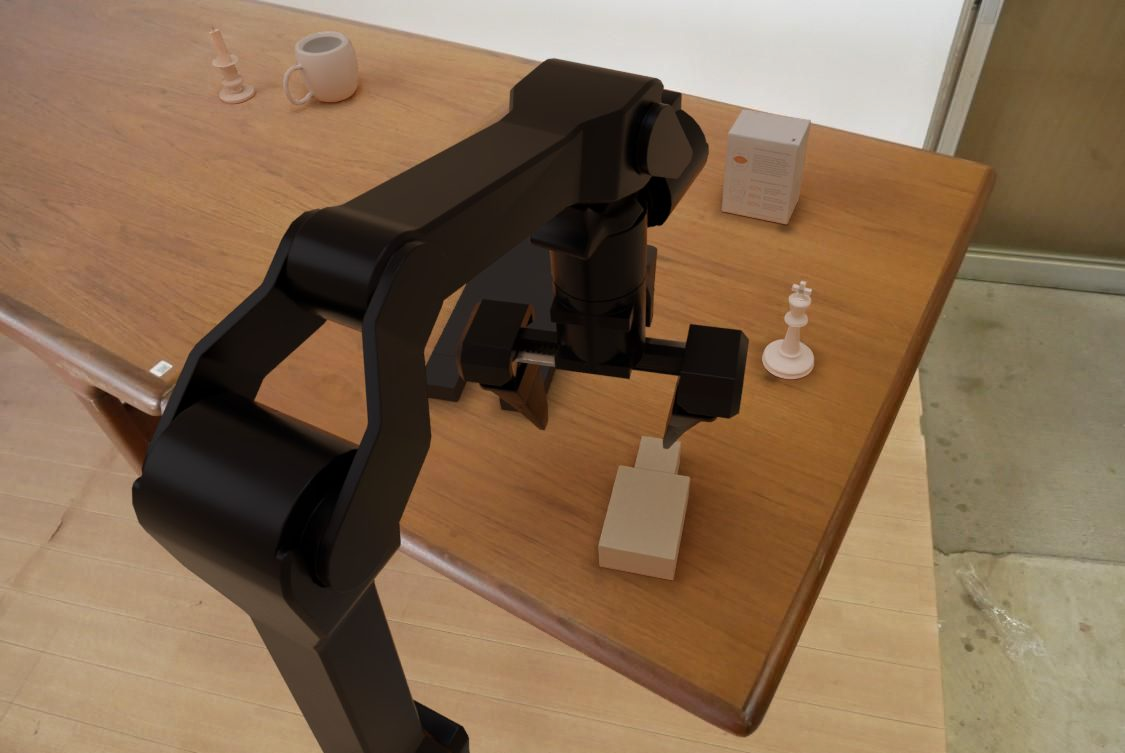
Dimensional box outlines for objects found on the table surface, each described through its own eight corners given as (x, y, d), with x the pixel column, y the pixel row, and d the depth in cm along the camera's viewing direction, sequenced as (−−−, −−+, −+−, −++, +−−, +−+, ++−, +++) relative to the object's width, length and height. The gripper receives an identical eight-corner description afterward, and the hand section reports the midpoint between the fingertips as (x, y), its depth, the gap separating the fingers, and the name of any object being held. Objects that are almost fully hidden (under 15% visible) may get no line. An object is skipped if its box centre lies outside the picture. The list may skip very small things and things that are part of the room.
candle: (213, 97, 125) (186, 29, 118) (242, 83, 128) (217, 15, 120) (233, 107, 123) (207, 38, 115) (262, 92, 125) (238, 23, 118)
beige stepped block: (673, 581, 66) (674, 560, 64) (599, 566, 68) (598, 545, 65) (694, 466, 74) (696, 443, 72) (627, 455, 75) (627, 432, 73)
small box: (799, 199, 100) (813, 119, 92) (787, 226, 96) (801, 145, 89) (733, 186, 102) (742, 107, 94) (719, 212, 99) (727, 132, 91)
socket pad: (539, 415, 79) (537, 401, 78) (420, 396, 82) (416, 382, 80) (603, 234, 97) (603, 220, 96) (504, 223, 100) (502, 209, 98)
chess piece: (772, 337, 84) (786, 259, 77) (820, 353, 82) (839, 274, 75) (754, 369, 81) (766, 291, 74) (803, 386, 80) (821, 307, 72)
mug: (341, 73, 128) (327, 23, 122) (376, 90, 124) (363, 38, 118) (275, 106, 122) (257, 54, 117) (309, 125, 118) (293, 72, 112)
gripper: (767, 206, 54) (743, 372, 65) (489, 180, 58) (513, 342, 69) (752, 324, 47) (728, 488, 58) (435, 286, 50) (471, 448, 62)
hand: (604, 434), depth 62 cm, fingers open, 9 cm apart
